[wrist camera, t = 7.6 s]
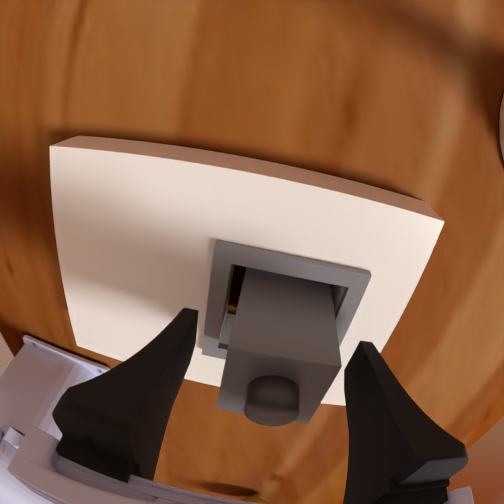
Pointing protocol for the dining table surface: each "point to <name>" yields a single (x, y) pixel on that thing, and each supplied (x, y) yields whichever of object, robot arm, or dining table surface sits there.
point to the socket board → (223, 244)
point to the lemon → (255, 499)
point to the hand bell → (502, 126)
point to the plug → (280, 349)
